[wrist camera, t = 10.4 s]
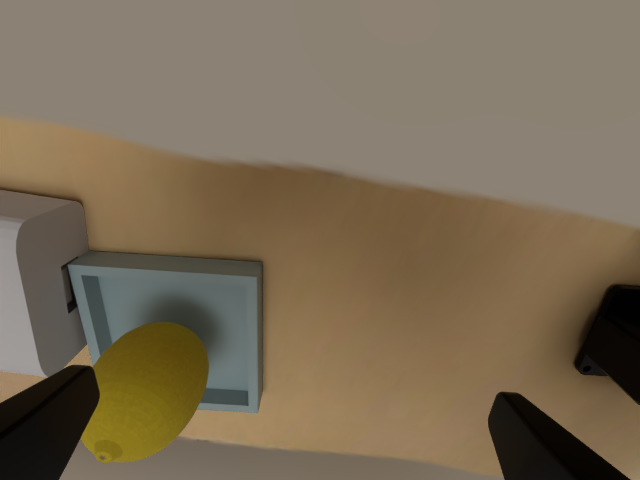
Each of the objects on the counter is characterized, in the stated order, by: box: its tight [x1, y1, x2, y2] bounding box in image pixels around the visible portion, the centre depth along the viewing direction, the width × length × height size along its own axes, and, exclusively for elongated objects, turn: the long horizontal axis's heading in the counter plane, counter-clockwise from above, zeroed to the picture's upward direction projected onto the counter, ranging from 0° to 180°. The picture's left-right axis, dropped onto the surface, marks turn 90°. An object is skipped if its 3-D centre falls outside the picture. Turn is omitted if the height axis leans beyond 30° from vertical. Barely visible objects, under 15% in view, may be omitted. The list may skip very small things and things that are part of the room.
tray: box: [68, 251, 263, 413], centre depth 21 cm, size 10×10×2 cm
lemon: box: [81, 322, 209, 463], centre depth 17 cm, size 6×6×8 cm
